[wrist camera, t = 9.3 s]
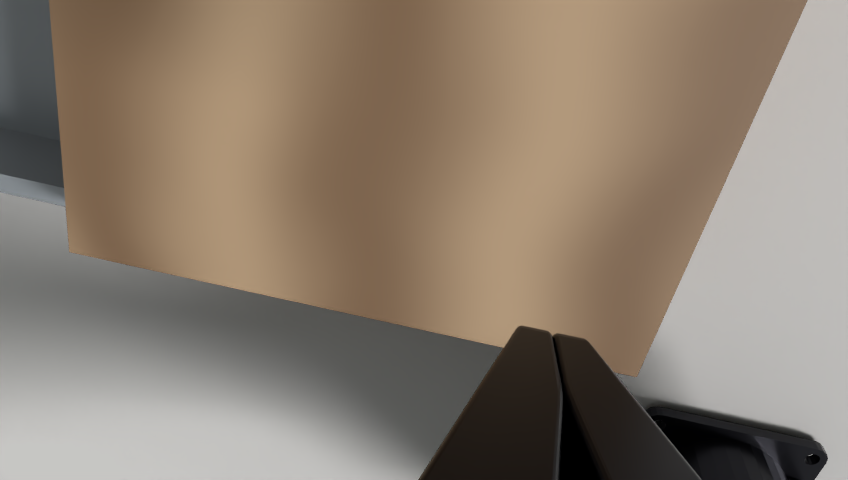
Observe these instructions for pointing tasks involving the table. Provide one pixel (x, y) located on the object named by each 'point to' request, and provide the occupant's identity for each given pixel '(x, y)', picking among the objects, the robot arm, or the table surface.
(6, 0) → the box
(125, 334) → the table surface
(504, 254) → the walnut plate
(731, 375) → the table surface
